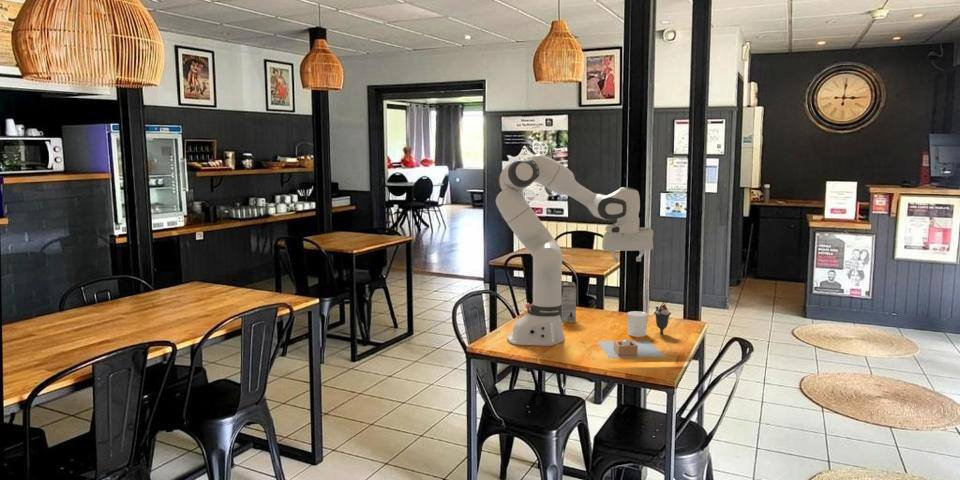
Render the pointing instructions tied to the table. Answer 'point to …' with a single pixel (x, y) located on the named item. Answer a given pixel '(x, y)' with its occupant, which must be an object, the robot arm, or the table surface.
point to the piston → (625, 342)
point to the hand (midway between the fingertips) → (627, 261)
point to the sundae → (662, 317)
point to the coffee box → (568, 301)
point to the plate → (643, 351)
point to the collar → (625, 349)
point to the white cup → (637, 323)
